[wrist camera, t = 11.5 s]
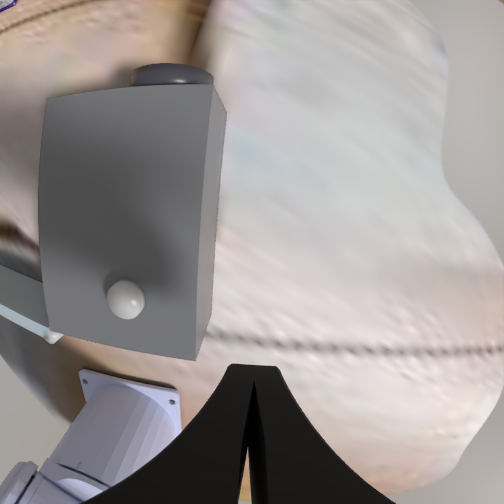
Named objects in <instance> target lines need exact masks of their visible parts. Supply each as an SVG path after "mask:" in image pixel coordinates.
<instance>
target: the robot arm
mask: <svg viewBox="0 0 504 504" xmlns="http://www.w3.org/2000/svg"><path fill="white" fill-rule="evenodd" d="M79 377H80V381H81V385H82V389H83V393H84V396H85V400H86V404H85V405H84V407H83V408H82V410H81V411H80V413H79V414H78V416H77V417H76V418H75V420H74V421H73V423H72V424H71V426H70V427H69V429H68V430H67V432H66V433H65V435H64V436H63V438H62V439H61V441H60V443H59V444H58V445H57V447H56V448H55V450H54V451H53V453H52V454H51V456H50V458H47V459H46V461H45V462H44V464H43V466H42V467H41V469H40V470H39V472H38V471H37V468H38V466H37V465H36V464H35V463H33V462H32V461H29V462H19V463H17V465H16V466H15V467H14V468H13V469H12V470H11V471H10V473H9V474H8V476H7V477H6V478H5V480H4V481H3V482H2V484H1V486H0V504H238V500H239V495H240V489H241V483H242V478H243V472H244V466H245V461H246V455H247V449H248V454H249V470H250V485H251V499H252V504H396V503H394V502H393V501H391V500H390V499H389V498H387V497H386V496H384V495H383V494H382V493H380V492H379V491H377V490H376V489H375V488H373V487H372V486H371V485H369V484H368V483H367V482H366V481H364V480H363V479H362V478H361V477H360V476H359V475H358V474H357V473H355V472H354V471H353V470H352V469H351V468H350V467H349V466H348V465H347V464H346V463H345V462H344V461H343V460H342V459H341V458H340V457H339V456H338V455H337V454H336V453H335V452H334V451H333V450H332V449H331V447H330V446H329V445H328V444H327V443H326V442H325V440H324V439H323V438H322V437H321V436H320V434H319V433H318V432H317V430H316V429H315V428H314V427H313V425H312V424H311V422H310V421H309V420H308V418H307V417H306V415H305V414H304V412H303V411H302V409H301V408H300V406H299V405H298V403H297V402H296V400H295V398H294V397H293V395H292V393H291V392H290V390H289V388H288V386H287V384H286V382H285V380H284V378H283V376H282V374H281V372H280V370H279V369H278V367H277V366H260V365H245V364H231V365H229V366H228V367H227V370H226V372H225V374H224V376H223V378H222V380H221V381H220V383H219V385H218V386H217V388H216V389H215V391H214V392H213V394H212V395H211V397H210V398H209V399H208V401H207V402H206V403H205V405H204V406H203V408H202V409H201V410H200V411H199V413H198V414H197V415H196V416H195V417H194V418H193V420H192V421H191V422H190V423H189V424H188V425H187V426H186V427H185V429H184V430H183V431H182V425H181V410H180V395H179V393H178V391H176V390H175V389H171V388H165V387H160V386H154V385H149V384H144V383H139V382H135V381H130V380H126V379H121V378H117V377H113V376H109V375H105V374H101V373H97V372H94V371H90V370H86V369H81V370H80V372H79ZM86 380H87V381H86ZM170 399H172V400H174V401H171V400H170Z"/></svg>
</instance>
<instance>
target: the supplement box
mask: <svg viewBox="0 0 504 504" xmlns="http://www.w3.org/2000/svg"><path fill="white" fill-rule="evenodd" d="M17 1H18V0H0V12H1V11H3V10H5V9H7V8H9V7H12V6H14V5H16V3H17Z"/></svg>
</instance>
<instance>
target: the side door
mask: <svg viewBox="0 0 504 504" xmlns="http://www.w3.org/2000/svg"><path fill="white" fill-rule="evenodd" d="M0 315H2V316H3V317H5V318H7V319H9V320H11V321H12V322H14V323H16V324H18V325H20V326H22V327H24V328H26V329H28V330H29V331H31V332H33V333H35V334H37V335H39V336H42V337H44V338H45V340H46V341H47V342H48V343H50V344H54V343H55V342H56V341H57V340H59V339H60V338H61V337H62V336H63V335H64V334H60V333H56V332H53V331H50V326H49V320H48V315H47V309H46V302H45V296H44V288H43V283H41V282H39V281H36V280H34V279H32V278H29V277H27V276H25V275H22V274H20V273H18V272H15V271H13V270H11V269H9V268H7V267H4V266H2V265H0Z"/></svg>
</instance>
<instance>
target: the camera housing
mask: <svg viewBox="0 0 504 504" xmlns="http://www.w3.org/2000/svg"><path fill="white" fill-rule="evenodd" d="M213 82H214V77H213V76H212V75H211V74H210V73H209V72H207V71H205V70H203V69H200V68H197V67H193V66H189V65H183V64H173V63H160V64H151V65H146V66H142V67H140V68H137V69H136V70H134V71H133V72H132V75H131V80H130V86H129V87H125V88H115V89H106V90H98V91H90V92H83V93H77V94H71V95H65V96H60V97H54V98H49V99H47V105H46V111H45V118H44V125H43V133H42V142H41V153H40V166H39V187H38V225H39V247H40V260H41V271H42V280H43V288H44V296H45V302H46V309H47V315H48V320H49V326H50V331H53V332H56V333H60V334H64V335H67V336H71V337H75V338H79V339H83V340H87V341H91V342H95V343H99V344H104V345H108V346H113V347H117V348H122V349H127V350H132V351H137V352H142V353H148V354H153V355H159V356H165V357H171V358H178V359H184V360H191V361H196V359H197V356H198V353H199V350H200V347H201V344H202V341H203V338H204V335H205V332H206V329H207V326H208V323H209V320H210V317H211V311H212V291H213V273H214V257H215V242H216V227H217V214H218V201H219V189H220V177H221V166H222V155H223V145H224V135H225V125H226V116H227V112H226V110H225V108H224V105H223V103H222V101H221V99H220V97H219V95H218V93H217V91H216V89H215V87H214V85H213Z"/></svg>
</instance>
